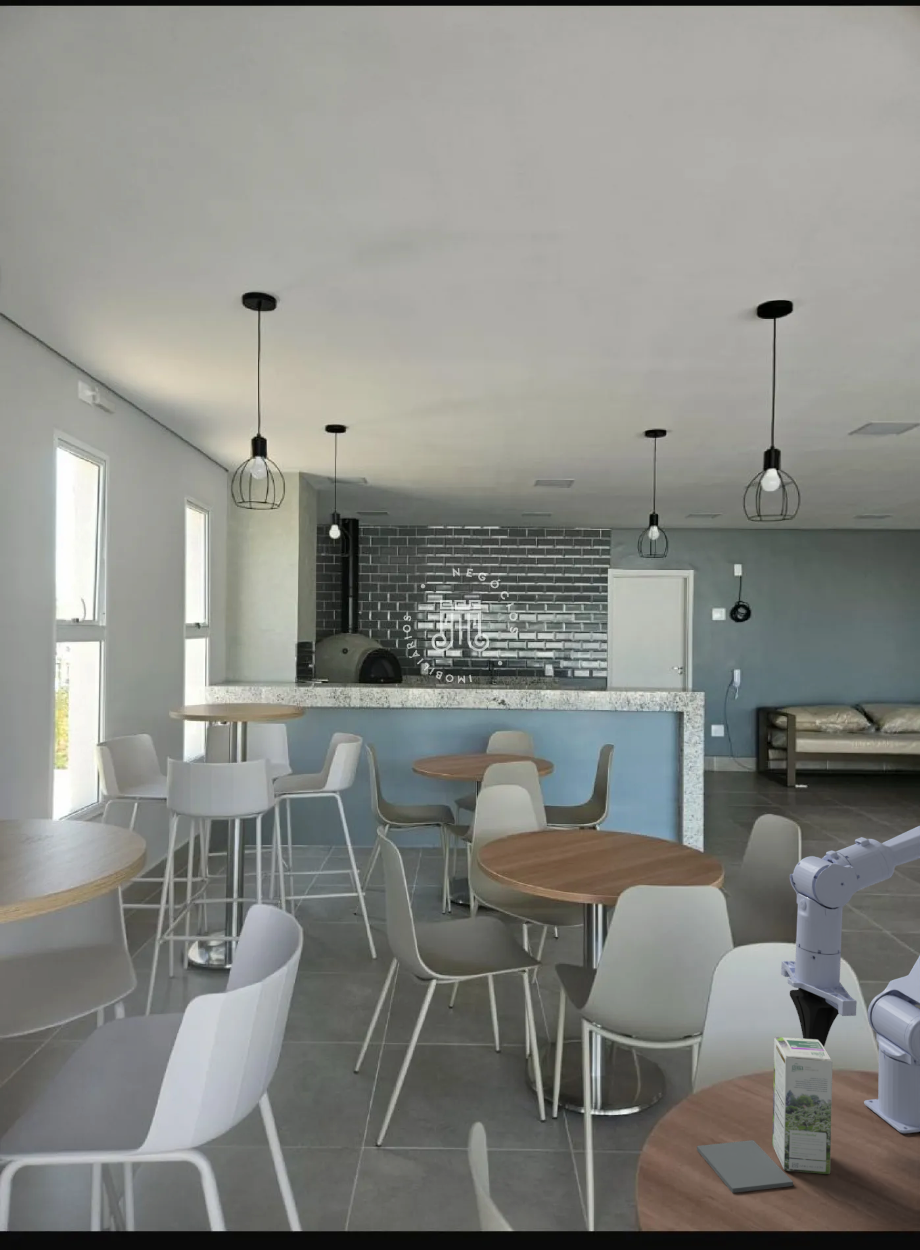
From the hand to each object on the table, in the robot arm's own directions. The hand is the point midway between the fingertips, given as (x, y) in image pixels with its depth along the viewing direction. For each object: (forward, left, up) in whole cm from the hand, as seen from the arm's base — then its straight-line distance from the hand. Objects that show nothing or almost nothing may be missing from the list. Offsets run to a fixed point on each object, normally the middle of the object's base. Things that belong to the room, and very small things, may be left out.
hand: (814, 1047), depth 120 cm
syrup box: (+7, +7, -11) cm, 15 cm away
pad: (+15, +7, -10) cm, 19 cm away
